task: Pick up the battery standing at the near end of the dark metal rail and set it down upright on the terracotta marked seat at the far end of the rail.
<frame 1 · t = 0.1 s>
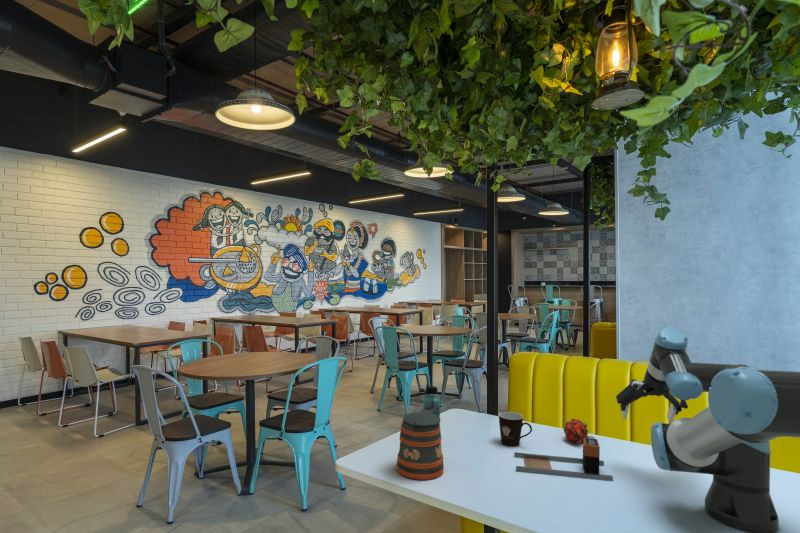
hand: (646, 417, 147), 15 cm above the table, tool tilted 35°, fingers open, 13 cm apart
coffee mug: (513, 445, 162), on the table
battery: (590, 471, 142), on the table
beverage bottle: (430, 443, 163), on the table
dragon fruit: (576, 442, 167), on the table
beer stein: (422, 467, 143), on the table
rail: (560, 467, 144), on the table
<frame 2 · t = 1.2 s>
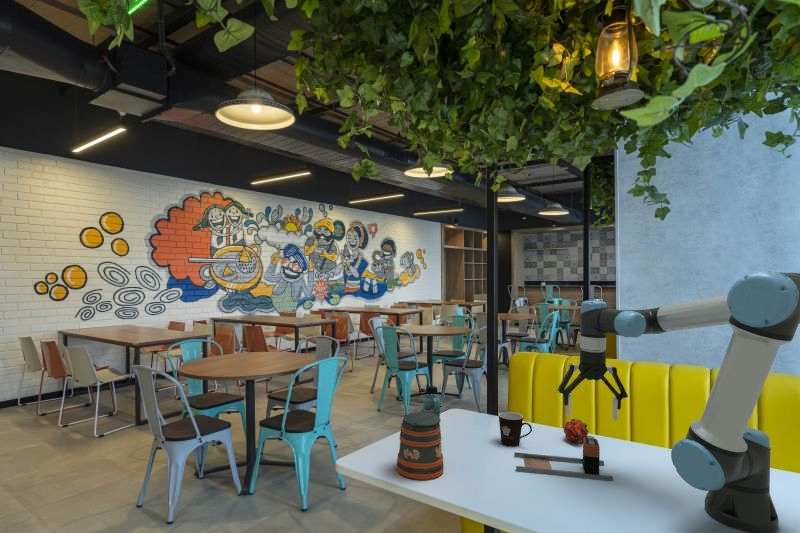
hand: (591, 417, 142), 17 cm above the table, tool pointing down, fingers open, 13 cm apart
nothing on the table moved.
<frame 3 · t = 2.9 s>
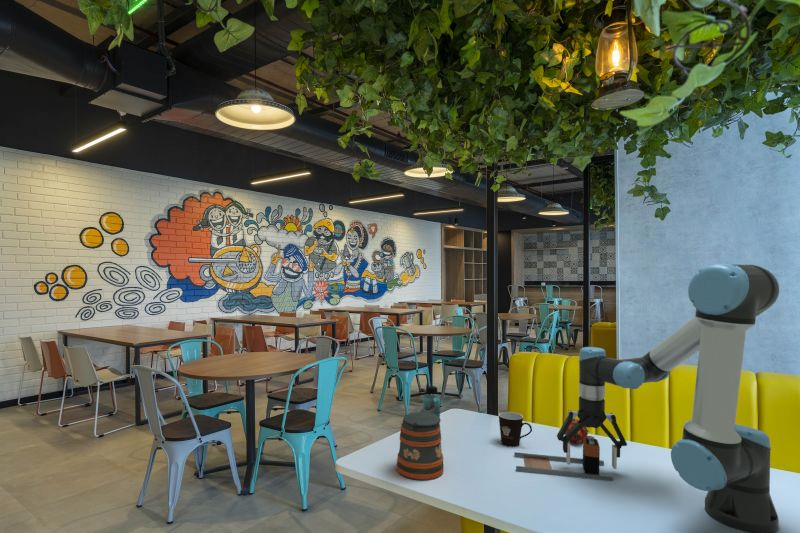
hand: (590, 465, 142), 2 cm above the table, tool pointing down, fingers open, 13 cm apart
nothing on the table moved.
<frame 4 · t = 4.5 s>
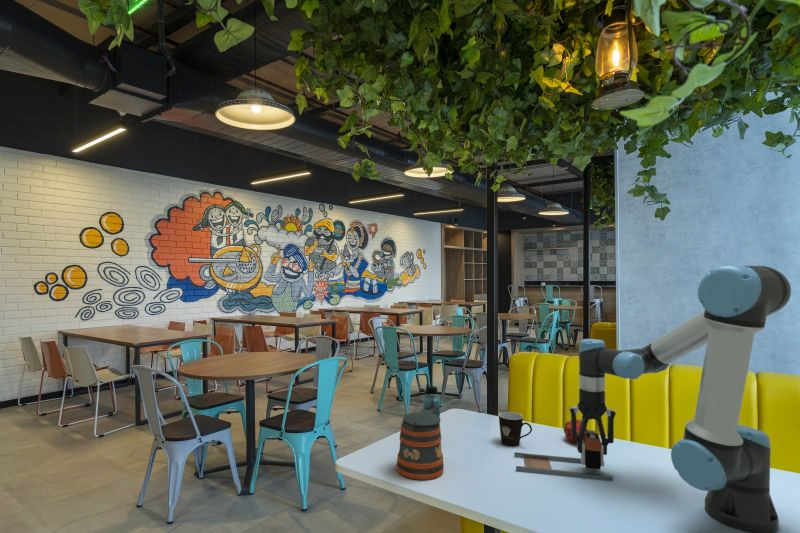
hand: (592, 463, 142), 2 cm above the table, tool pointing down, fingers closed on battery, 5 cm apart
battery: (592, 465, 142), point 2 cm above the table, touching gripper
everything else where it was.
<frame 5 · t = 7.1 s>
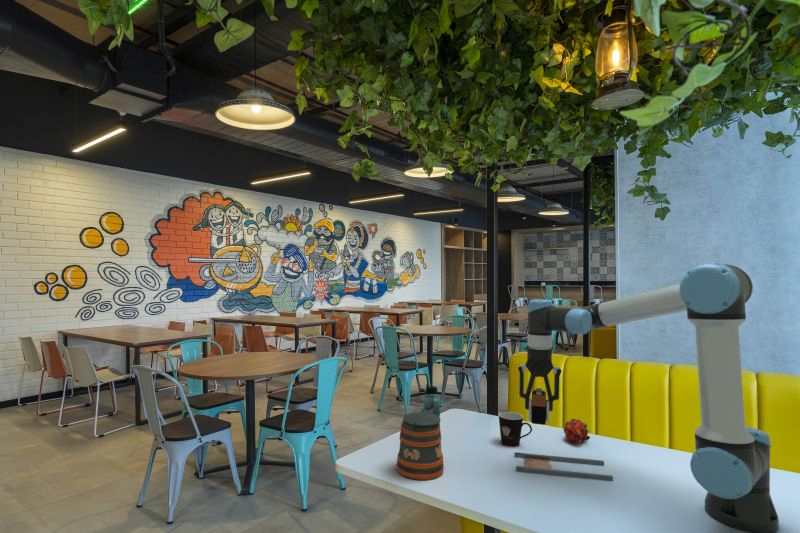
hand: (538, 420, 145), 14 cm above the table, tool pointing down, fingers closed on battery, 5 cm apart
battery: (538, 421, 145), point 14 cm above the table, touching gripper
everything else where it was.
when the fingers open (1 cm above the table, at t = 10.1 s): battery stays where it is, resting on rail.
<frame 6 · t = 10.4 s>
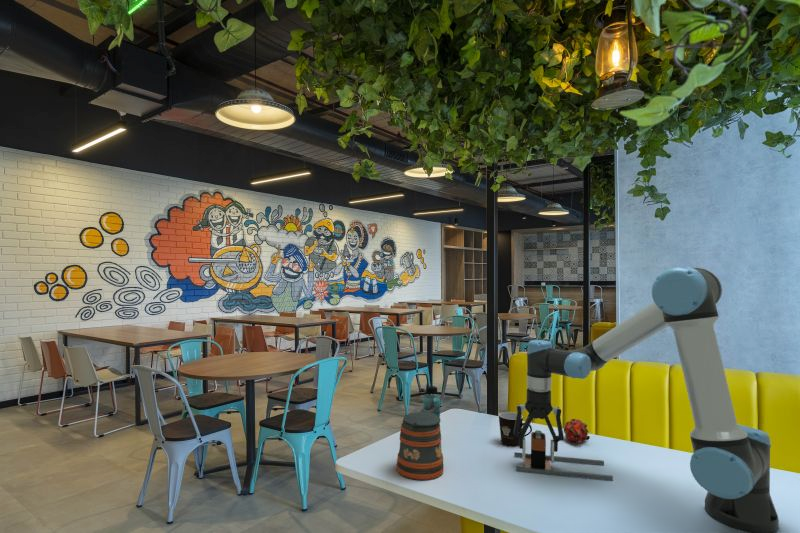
hand: (537, 459, 145), 2 cm above the table, tool pointing down, fingers open, 8 cm apart
battery: (537, 465, 145), resting on rail
everything else where it was.
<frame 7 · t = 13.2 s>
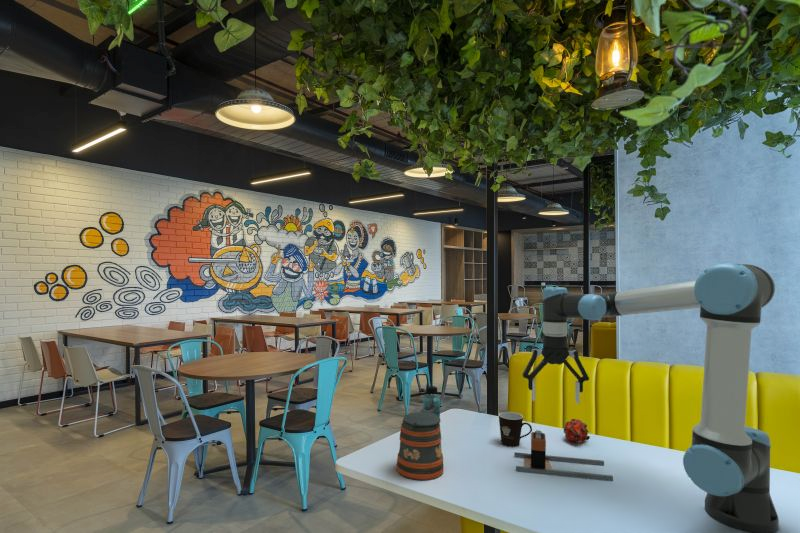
hand: (555, 401, 146), 21 cm above the table, tool pointing down, fingers open, 13 cm apart
nothing on the table moved.
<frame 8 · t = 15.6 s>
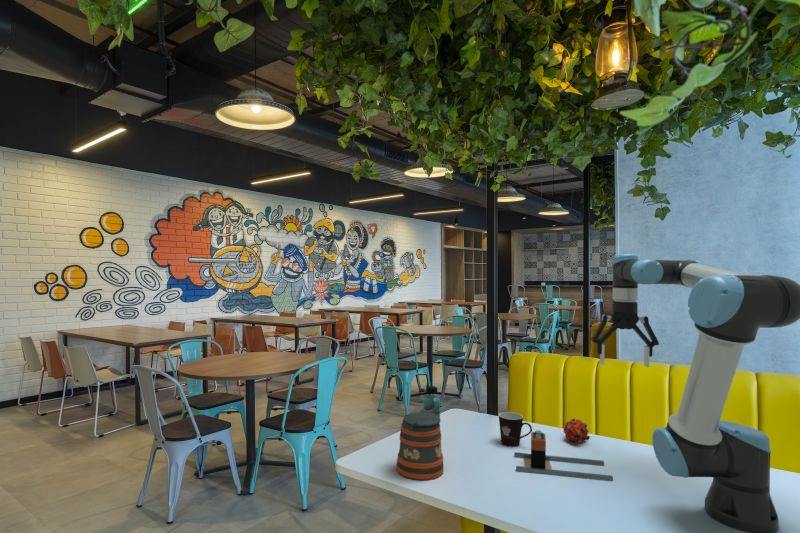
hand: (624, 365, 150), 32 cm above the table, tool pointing down, fingers open, 13 cm apart
nothing on the table moved.
at the end: battery inside the target area (0.2 cm from its centre), resting on rail; battery tilted 0°; the gripper is holding nothing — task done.
